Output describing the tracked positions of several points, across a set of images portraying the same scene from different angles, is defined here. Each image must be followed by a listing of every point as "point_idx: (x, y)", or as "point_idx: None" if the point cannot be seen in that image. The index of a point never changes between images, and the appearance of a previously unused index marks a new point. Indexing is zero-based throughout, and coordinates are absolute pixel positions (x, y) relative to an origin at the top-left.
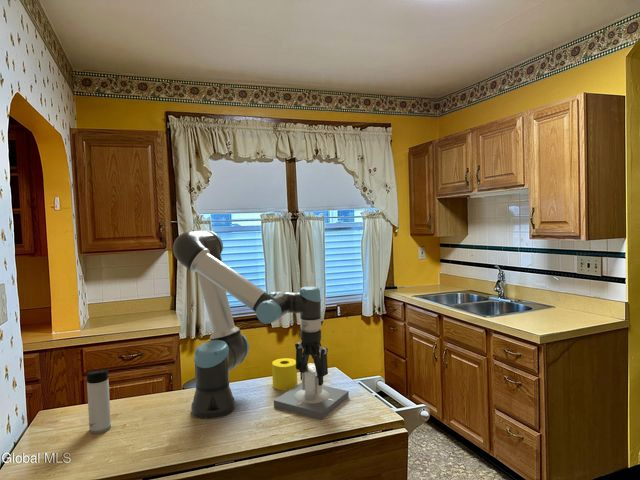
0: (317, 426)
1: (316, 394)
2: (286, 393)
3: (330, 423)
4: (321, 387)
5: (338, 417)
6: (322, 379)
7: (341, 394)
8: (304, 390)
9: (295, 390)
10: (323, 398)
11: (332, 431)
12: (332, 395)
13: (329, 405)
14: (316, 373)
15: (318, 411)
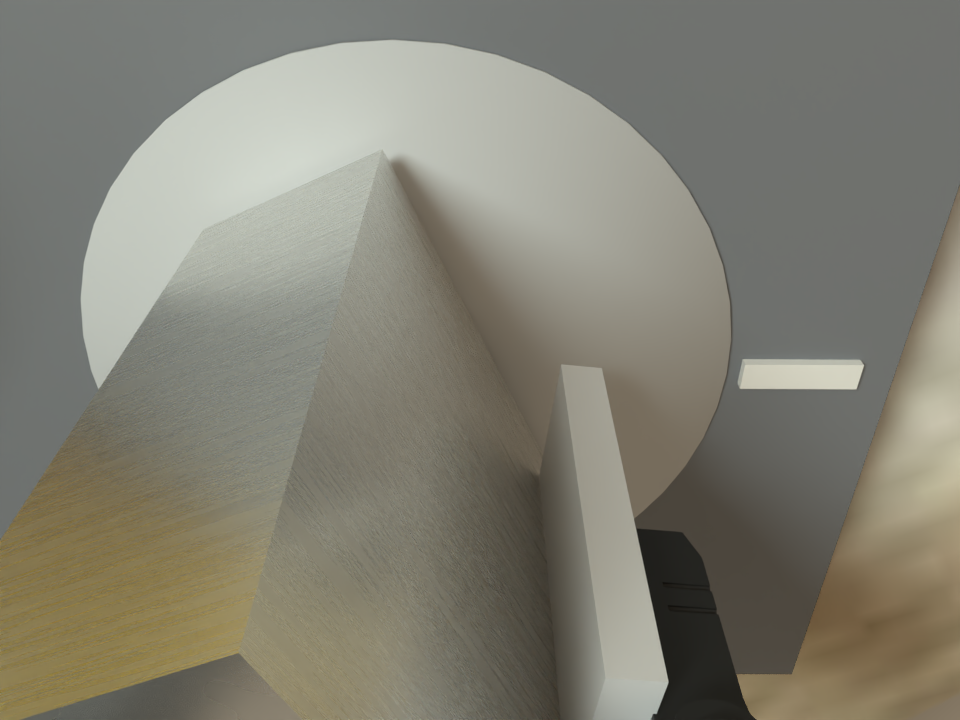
0: (772, 688)
1: (507, 394)
2: (2, 478)
3: (888, 611)
4: (613, 447)
5: (951, 488)
6: (718, 668)
7: (943, 68)
8: (155, 276)
9: (15, 336)
10: (657, 385)
11: (948, 696)
12: (764, 199)
13: (833, 508)
14: (489, 708)
15: (745, 665)
